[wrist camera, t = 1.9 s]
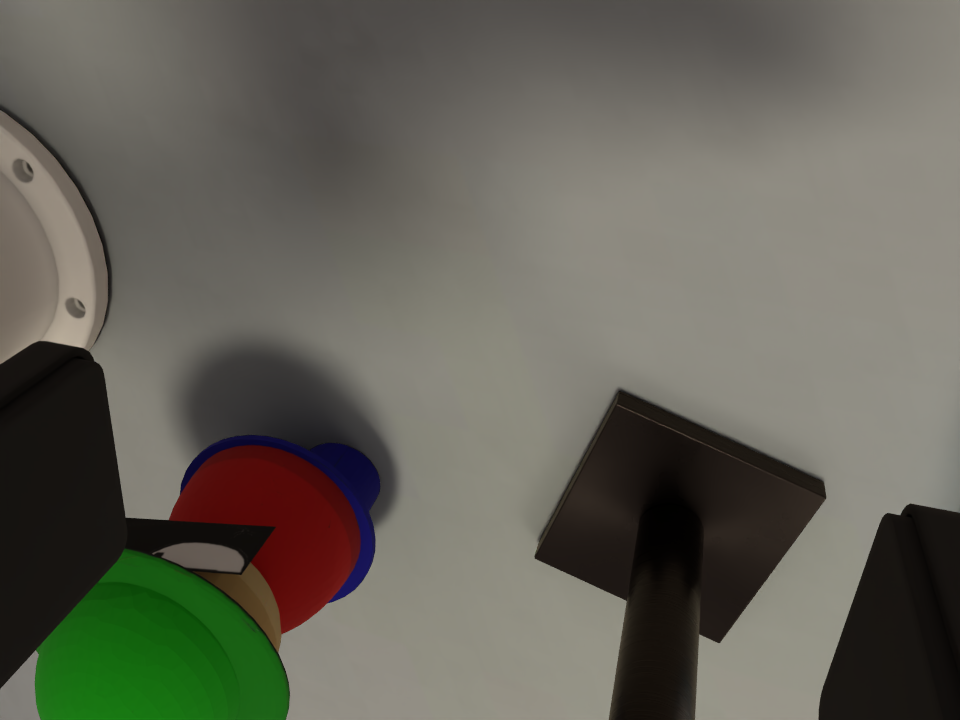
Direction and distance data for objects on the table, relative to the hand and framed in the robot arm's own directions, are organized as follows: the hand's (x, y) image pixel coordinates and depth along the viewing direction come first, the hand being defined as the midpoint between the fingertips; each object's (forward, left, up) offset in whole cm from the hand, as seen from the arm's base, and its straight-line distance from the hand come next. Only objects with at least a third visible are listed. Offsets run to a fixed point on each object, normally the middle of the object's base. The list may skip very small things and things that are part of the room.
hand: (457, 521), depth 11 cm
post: (+8, -13, -21) cm, 25 cm away
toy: (-6, -18, -21) cm, 28 cm away
